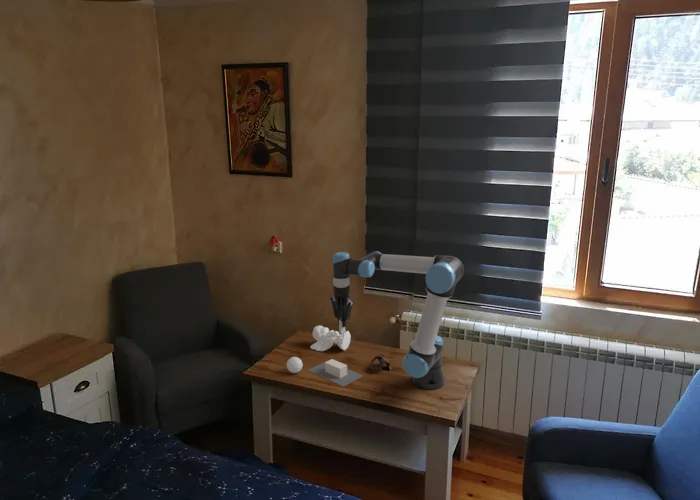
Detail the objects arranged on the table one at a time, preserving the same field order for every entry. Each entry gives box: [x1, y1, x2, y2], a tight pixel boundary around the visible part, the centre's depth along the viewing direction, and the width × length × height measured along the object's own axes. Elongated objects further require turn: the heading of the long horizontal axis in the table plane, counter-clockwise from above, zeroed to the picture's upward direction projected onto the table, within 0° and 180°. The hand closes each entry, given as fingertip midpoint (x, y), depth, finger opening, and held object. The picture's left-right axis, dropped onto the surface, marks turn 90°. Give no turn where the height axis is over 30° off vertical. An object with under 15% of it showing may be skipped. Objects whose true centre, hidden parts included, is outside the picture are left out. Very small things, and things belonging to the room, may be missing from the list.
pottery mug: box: [370, 353, 392, 371], centre depth 268 cm, size 12×10×8 cm
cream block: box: [324, 358, 348, 378], centre depth 263 cm, size 5×5×10 cm
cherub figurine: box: [310, 324, 352, 352], centre depth 291 cm, size 13×12×20 cm
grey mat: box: [308, 360, 364, 387], centre depth 264 cm, size 24×14×1 cm, turn 48°
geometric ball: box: [286, 356, 303, 374], centre depth 265 cm, size 8×8×8 cm
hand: (342, 332), depth 258 cm, fingers closed
